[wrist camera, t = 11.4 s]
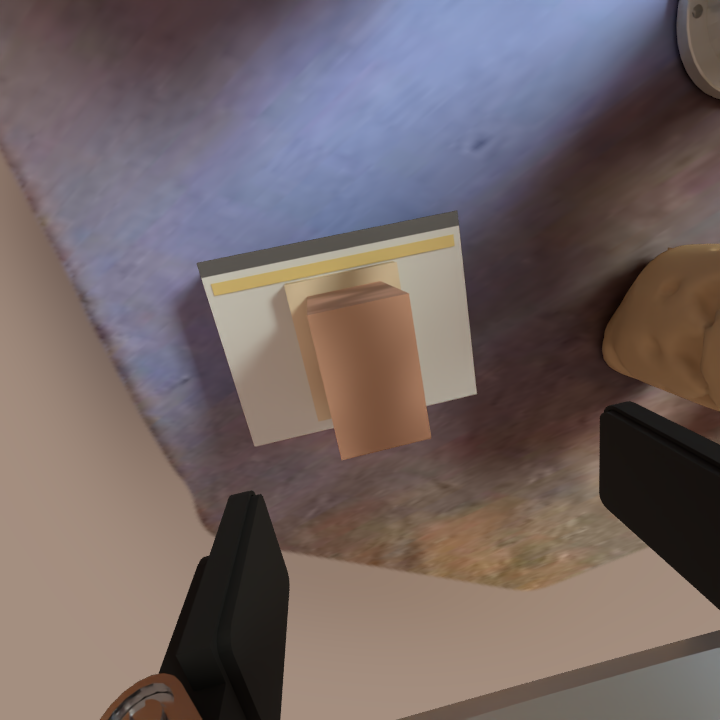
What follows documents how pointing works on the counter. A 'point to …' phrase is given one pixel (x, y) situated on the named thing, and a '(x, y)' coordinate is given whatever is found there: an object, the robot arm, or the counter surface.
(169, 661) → the robot arm
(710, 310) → the container
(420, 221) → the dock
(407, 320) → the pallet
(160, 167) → the counter surface
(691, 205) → the counter surface
